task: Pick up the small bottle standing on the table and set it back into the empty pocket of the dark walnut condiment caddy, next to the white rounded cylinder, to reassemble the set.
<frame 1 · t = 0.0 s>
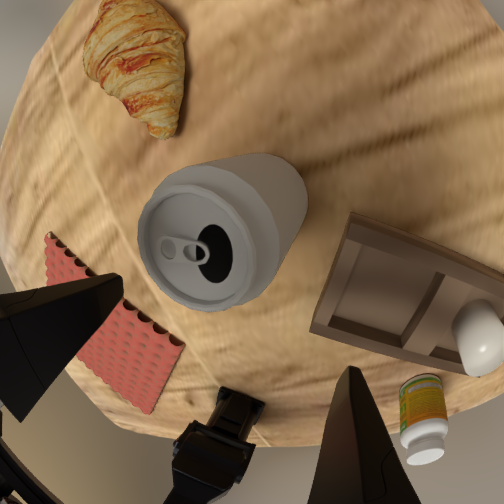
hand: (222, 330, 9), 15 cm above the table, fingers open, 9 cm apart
croissant: (145, 53, 20), on the table
caddy: (430, 300, 21), on the table
can: (264, 197, 22), on the table
white rounded cylinder: (472, 320, 19), point 1 cm above the table, touching caddy
supplement bottle: (420, 386, 25), on the table
red studded mat: (103, 334, 41), on the table
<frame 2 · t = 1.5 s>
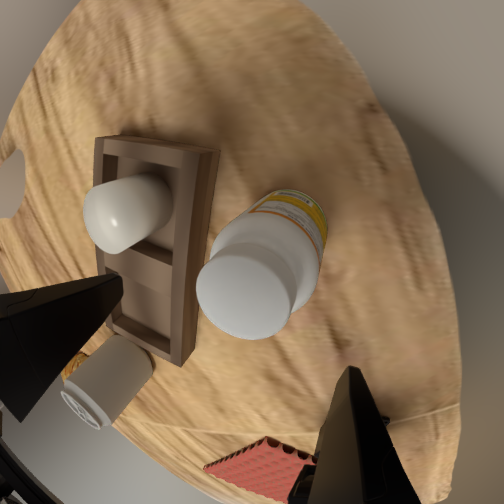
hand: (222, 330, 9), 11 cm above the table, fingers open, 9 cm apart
croissant: (94, 370, 42), on the table
caddy: (154, 252, 24), on the table
can: (134, 352, 33), on the table
white rounded cylinder: (148, 201, 21), point 1 cm above the table, touching caddy
supplement bottle: (290, 225, 19), on the table
red studded mat: (294, 478, 38), on the table
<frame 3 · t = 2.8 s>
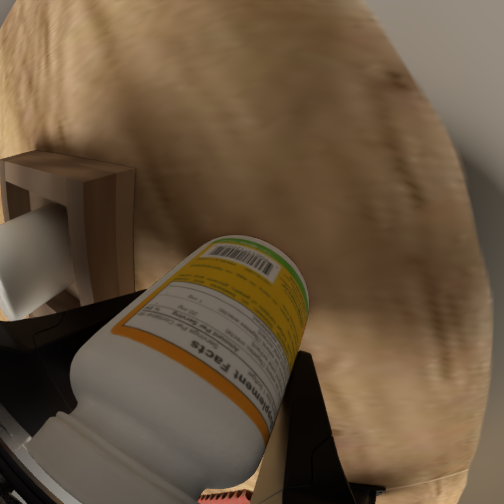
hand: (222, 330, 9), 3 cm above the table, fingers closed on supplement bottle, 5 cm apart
caddy: (85, 302, 16), on the table
white rounded cylinder: (60, 243, 13), point 1 cm above the table, touching caddy
supplement bottle: (248, 291, 12), on the table, touching gripper
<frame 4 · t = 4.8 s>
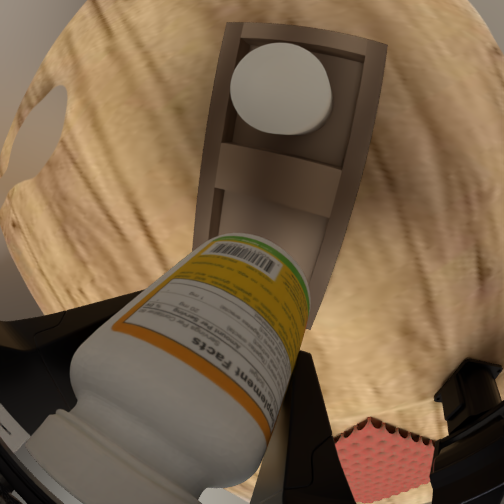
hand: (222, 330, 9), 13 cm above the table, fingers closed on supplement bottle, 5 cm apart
caddy: (284, 172, 19), on the table
white rounded cylinder: (295, 100, 15), point 1 cm above the table, touching caddy
supplement bottle: (249, 289, 12), point 10 cm above the table, touching gripper
red studded mat: (370, 468, 32), on the table
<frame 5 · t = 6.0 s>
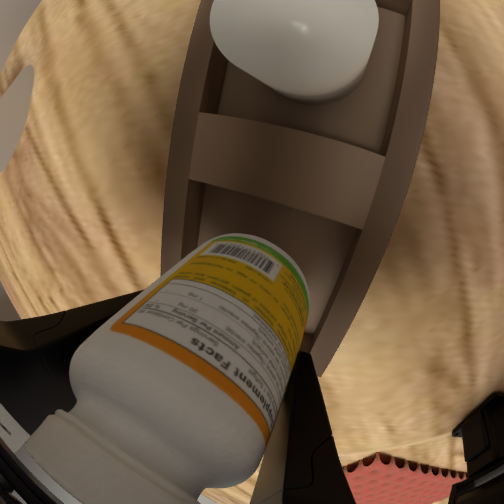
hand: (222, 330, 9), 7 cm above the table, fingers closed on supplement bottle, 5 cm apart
caddy: (292, 159, 13), on the table
white rounded cylinder: (311, 55, 9), point 1 cm above the table, touching caddy
supplement bottle: (248, 289, 12), point 4 cm above the table, touching gripper
red studded mat: (371, 493, 27), on the table
when the fingers open (5 cm above the table, at t = 6.7 s): supplement bottle drops 1 cm, resting on caddy.
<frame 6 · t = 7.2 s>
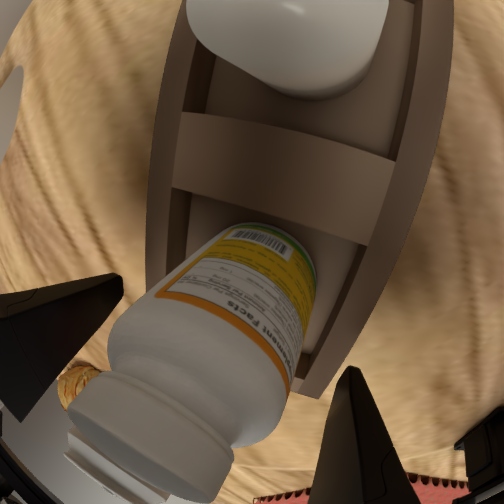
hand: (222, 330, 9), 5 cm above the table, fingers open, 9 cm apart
croissant: (106, 388, 29), on the table
caddy: (289, 163, 11), on the table
can: (186, 372, 20), on the table
white rounded cylinder: (310, 46, 8), point 1 cm above the table, touching caddy
supplement bottle: (261, 274, 13), point 1 cm above the table, touching caddy
red studded mat: (370, 501, 25), on the table
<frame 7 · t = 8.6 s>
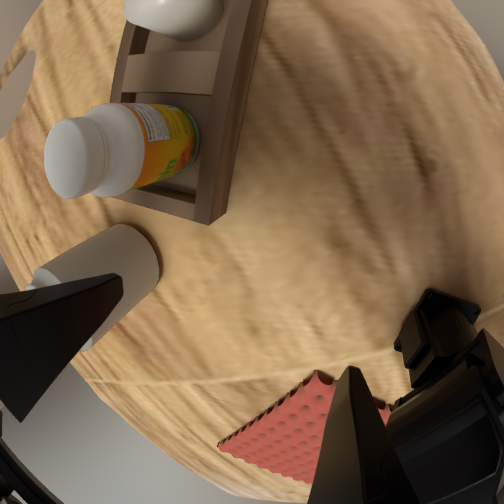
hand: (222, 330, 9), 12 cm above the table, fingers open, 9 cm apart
caddy: (187, 77, 17), on the table
can: (135, 255, 26), on the table
white rounded cylinder: (193, 15, 14), point 1 cm above the table, touching caddy
supplement bottle: (171, 140, 19), point 1 cm above the table, touching caddy
red studded mat: (335, 446, 32), on the table
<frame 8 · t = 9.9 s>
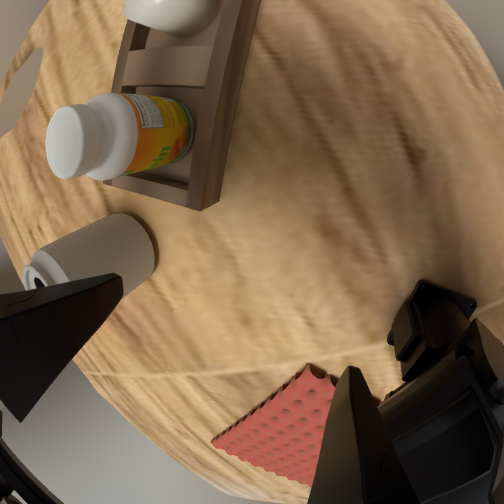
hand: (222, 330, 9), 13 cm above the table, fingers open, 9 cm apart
caddy: (184, 71, 18), on the table
can: (132, 244, 27), on the table
white rounded cylinder: (190, 13, 14), point 1 cm above the table, touching caddy
supplement bottle: (167, 131, 19), point 1 cm above the table, touching caddy
red studded mat: (330, 446, 31), on the table
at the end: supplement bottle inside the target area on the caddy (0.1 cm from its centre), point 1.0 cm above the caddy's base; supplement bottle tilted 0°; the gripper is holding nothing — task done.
